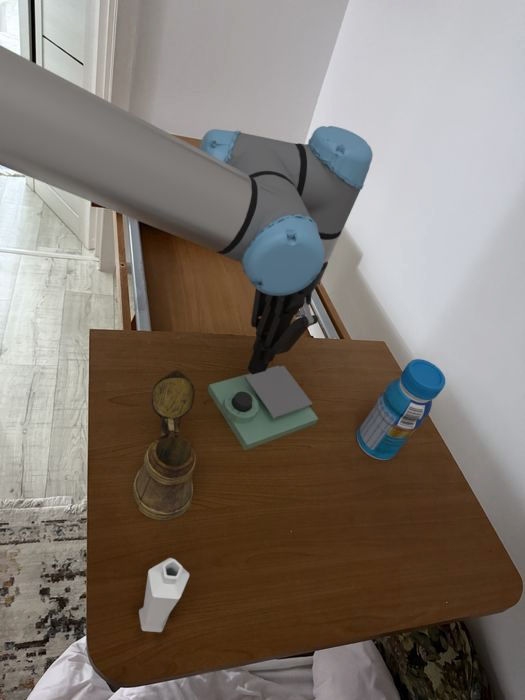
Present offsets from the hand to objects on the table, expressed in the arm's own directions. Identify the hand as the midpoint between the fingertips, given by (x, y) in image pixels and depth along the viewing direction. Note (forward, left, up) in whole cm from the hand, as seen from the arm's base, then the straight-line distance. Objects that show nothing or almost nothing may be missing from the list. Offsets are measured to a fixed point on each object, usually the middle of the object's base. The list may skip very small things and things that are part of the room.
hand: (256, 369), depth 83 cm
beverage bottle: (+22, -15, -13) cm, 30 cm away
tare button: (0, 0, -9) cm, 9 cm away
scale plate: (+8, 0, -9) cm, 12 cm away
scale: (+5, 0, -12) cm, 13 cm away
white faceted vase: (-27, -24, -13) cm, 38 cm away
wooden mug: (-18, -7, -13) cm, 23 cm away
